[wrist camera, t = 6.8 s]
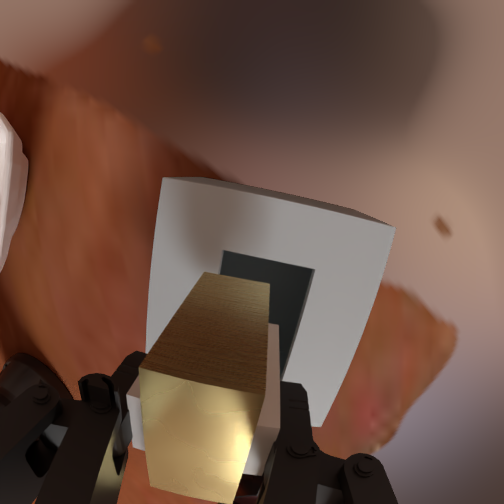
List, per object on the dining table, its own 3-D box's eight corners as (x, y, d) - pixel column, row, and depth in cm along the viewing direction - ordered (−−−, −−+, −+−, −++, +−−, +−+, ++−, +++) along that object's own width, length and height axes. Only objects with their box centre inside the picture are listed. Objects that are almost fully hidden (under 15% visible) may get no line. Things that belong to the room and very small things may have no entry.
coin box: (179, 332, 30) (145, 391, 21) (202, 177, 26) (162, 177, 17) (310, 360, 30) (320, 427, 20) (354, 209, 26) (396, 227, 16)
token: (193, 375, 15) (150, 486, 8) (204, 271, 14) (138, 367, 6) (248, 386, 15) (232, 504, 8) (269, 283, 14) (265, 394, 6)
